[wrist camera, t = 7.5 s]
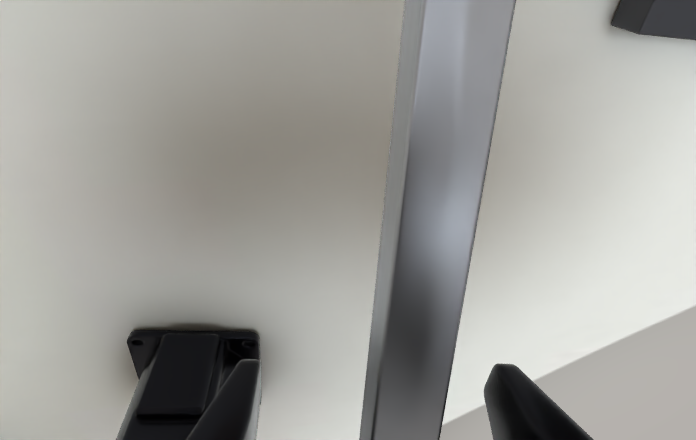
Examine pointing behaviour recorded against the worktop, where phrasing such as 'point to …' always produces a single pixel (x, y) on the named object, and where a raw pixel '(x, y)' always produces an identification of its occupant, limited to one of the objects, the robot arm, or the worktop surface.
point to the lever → (431, 208)
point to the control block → (658, 18)
